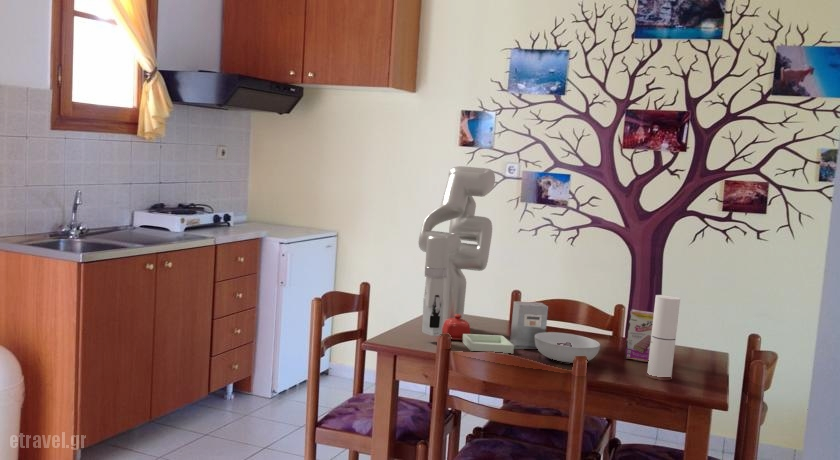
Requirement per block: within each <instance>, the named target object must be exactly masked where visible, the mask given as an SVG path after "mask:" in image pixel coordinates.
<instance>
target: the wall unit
mask: <svg viewBox="0 0 840 460" xmlns="http://www.w3.org/2000/svg"><path fill="white" fill-rule="evenodd" d="M548 311H549V306H548V305H546V304H544V303H543V302H538V301H537V302H536V301H535V302H532V301H516V300H515V301H513V307H512V315H511V316H512V317H511V328H510V338H509V339H507V340H508V341H509V342H510V343H512V344H513V345H514V350H524V349H537V347H536V345H535V335H536V334H538V333H543V332H547V323H548V313H549V312H548Z"/></svg>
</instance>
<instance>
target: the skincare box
mask: <svg viewBox="0 0 840 460" xmlns="http://www.w3.org/2000/svg"><path fill="white" fill-rule="evenodd" d="M422 301H423V302H422V304H423V305H422V329H421V331H422V333H424V334H425V335H428V336H431V337H439V335H440V334H442V326H443V304H444V300H443V303H442V307H441V308H440V323H439V328H430V327H429V325H430V315H431V307H429V308H428V307H427V306H426V304H425V298H424V297H423V300H422ZM440 305H441V304H440ZM433 306H435V301H434V304H433ZM433 312H434V309H433ZM440 336H441V335H440Z"/></svg>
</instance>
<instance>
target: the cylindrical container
mask: <svg viewBox="0 0 840 460" xmlns="http://www.w3.org/2000/svg"><path fill="white" fill-rule="evenodd" d="M680 305H681V298H680V297H678V296H674V295H666V294H655V299H654V308H653V313H654V316H653V325H652V334H651V343H650V352H649V361H648V363H647V372H646V374H647V373H648V374H649V375H652V376H657V377H671V378H672V377H673V376H672V375H673V366H674V357H675V356H674V355H675V349H676V339H677V332H678V331H677V330H678V320H679V314H680Z"/></svg>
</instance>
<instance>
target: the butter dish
mask: <svg viewBox="0 0 840 460" xmlns="http://www.w3.org/2000/svg"><path fill="white" fill-rule="evenodd" d="M454 317H455V318H450V319H447V320H445V322H444V325H443V328H442V333H449V334H450V335H451V337H452V340H451V341H462V338H463V334H472V333H471V326H470V323H469V321H467V320H466V319H464V318H463V319H460V318H461V315H460V314H455V315H454Z"/></svg>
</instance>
